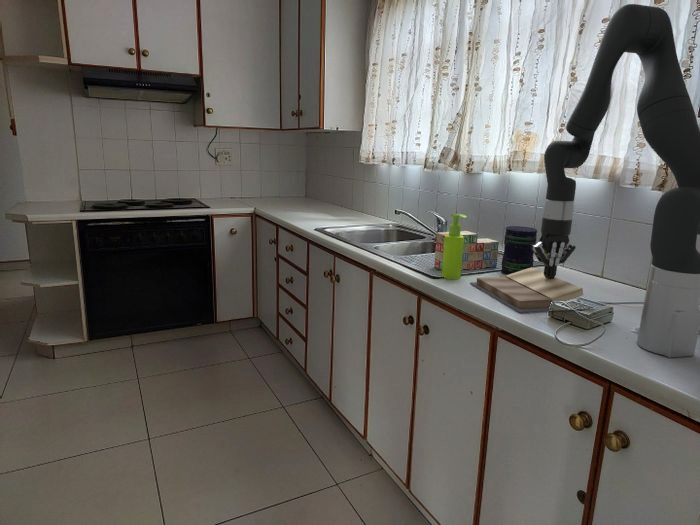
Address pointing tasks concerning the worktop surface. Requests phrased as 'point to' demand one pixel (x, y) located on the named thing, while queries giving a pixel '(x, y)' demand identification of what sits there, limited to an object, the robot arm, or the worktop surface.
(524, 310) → the underlay mat
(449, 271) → the soap dispenser
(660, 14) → the robot arm
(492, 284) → the walnut plank
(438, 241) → the stack of blocks
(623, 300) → the worktop surface
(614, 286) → the worktop surface
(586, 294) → the worktop surface
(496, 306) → the worktop surface
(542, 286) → the oak plank
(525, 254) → the storage jar
